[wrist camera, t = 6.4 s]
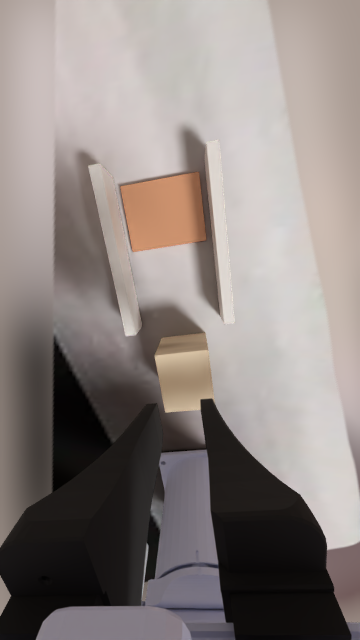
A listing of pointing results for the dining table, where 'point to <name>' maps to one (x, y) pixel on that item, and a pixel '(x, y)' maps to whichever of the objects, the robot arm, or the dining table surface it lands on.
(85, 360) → the dining table surface
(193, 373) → the block
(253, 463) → the robot arm
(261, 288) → the dining table surface
